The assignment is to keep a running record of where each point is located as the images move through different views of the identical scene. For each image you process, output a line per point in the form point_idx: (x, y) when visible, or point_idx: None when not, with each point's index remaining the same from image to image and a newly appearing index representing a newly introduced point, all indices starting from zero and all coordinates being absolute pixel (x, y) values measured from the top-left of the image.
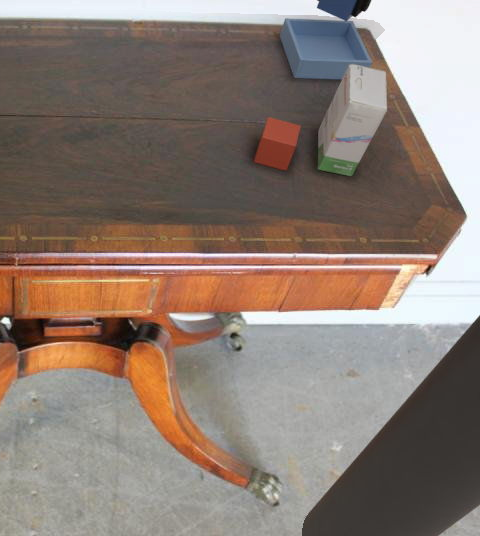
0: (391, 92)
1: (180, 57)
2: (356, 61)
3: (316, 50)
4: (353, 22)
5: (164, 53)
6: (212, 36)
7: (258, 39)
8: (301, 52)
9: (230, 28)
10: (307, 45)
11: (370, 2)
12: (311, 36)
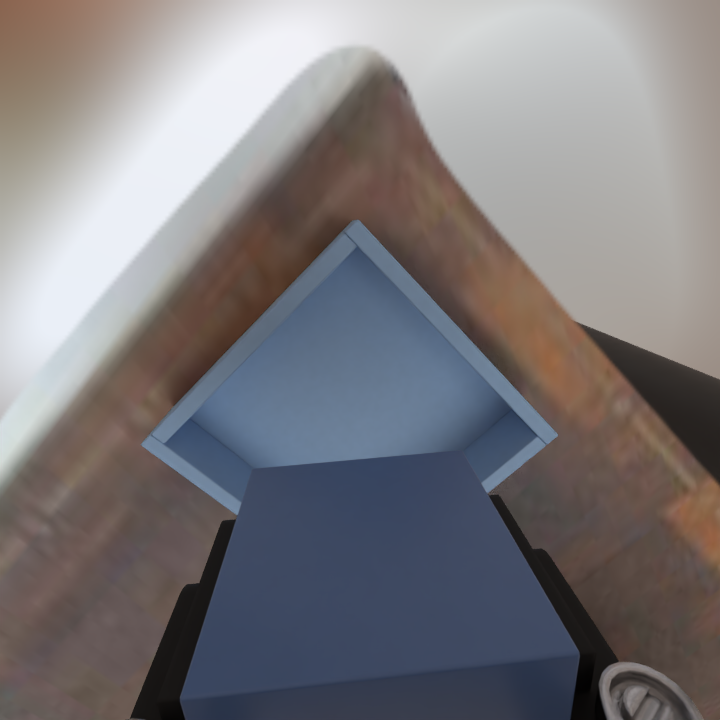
0: (614, 387)
1: (77, 689)
2: (508, 475)
3: (328, 413)
4: (365, 228)
5: (37, 705)
6: (41, 567)
7: (141, 474)
8: (298, 461)
9: (34, 495)
10: (286, 410)
11: (560, 573)
12: (260, 350)
